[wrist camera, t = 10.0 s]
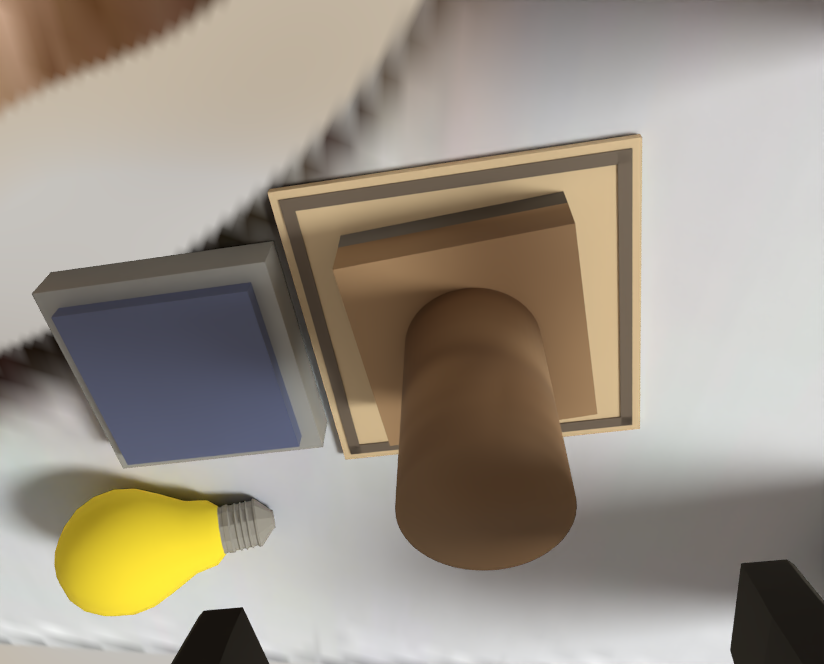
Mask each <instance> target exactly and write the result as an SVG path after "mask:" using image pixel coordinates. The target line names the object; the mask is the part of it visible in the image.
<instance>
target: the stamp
mask: <svg viewBox="0 0 824 664" xmlns="http://www.w3.org/2000/svg"><path fill="white" fill-rule="evenodd" d="M333 273H334V276H335V279H336V282H337V285H338V289H339V292H340V295H341V298H342V301H343V304H344V307H345V310H346V313H347V316H348V319H349V322H350V325H351V328H352V331H353V334H354V337H355V340H356V343H357V347H358V350H359V353H360V356H361V359H362V362H363V365H364V368H365V371H366V374H367V377H368V380H369V383H370V386H371V389H372V392H373V395H374V398H375V401H376V404H377V408H378V411H379V414H380V417H381V420H382V423H383V426H384V429H385V432H386V435H387V438H388V441H389V444H390V446H394V445H399V453H398V470H397V487H396V503H395V512H396V519H397V523H398V525H399V528H400V530H401V532H402V533H403V535H404V536H405V538H406V539H407V540H408V541H409V543H410V544H411V545H412V546H413V547H415V548H416V549H417V550H418V551H420V552H421V553H423V554H424V555H426V556H427V557H429V558H431V559H433V560H435V561H438V562H440V563H443V564H445V565H449V566H453V567H457V568H462V569H469V570H498V569H505V568H511V567H515V566H518V565H522V564H525V563H527V562H530V561H532V560H535V559H537V558H539V557H541V556H542V555H544V554H546V553H547V552H549V551H550V550H552V549H553V548H554V547H555V546H557V545H558V544H559V543H560V542H561V541H562V540H563V539H564V537H565V536H566V535H567V533H568V532H569V530H570V528H571V526H572V525H573V522H574V519H575V516H576V509H577V504H576V496H575V491H574V486H573V482H572V477H571V472H570V468H569V463H568V458H567V454H566V449H565V444H564V440H563V435H562V431H561V426H560V421H559V420H563V419H569V418H576V417H582V416H589V415H595V414H597V406H596V398H595V389H594V380H593V372H592V363H591V355H590V346H589V337H588V329H587V320H586V311H585V303H584V294H583V286H582V277H581V268H580V260H579V251H578V243H577V234H576V225H575V221H574V219H573V216H572V213H571V210H570V208H569V205H568V202H567V200H566V197H565V194H564V191H562V192H557V193H552V194H547V195H542V196H537V197H532V198H527V199H522V200H517V201H512V202H507V203H502V204H497V205H492V206H487V207H482V208H477V209H472V210H467V211H462V212H456V213H451V214H446V215H441V216H436V217H431V218H426V219H421V220H416V221H411V222H406V223H401V224H396V225H391V226H386V227H381V228H376V229H371V230H366V231H361V232H356V233H351V234H346V235H341V236H340V240H339V244H338V249H337V253H336V257H335V261H334V265H333Z"/></svg>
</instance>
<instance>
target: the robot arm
mask: <svg viewBox="0 0 824 664" xmlns="http://www.w3.org/2000/svg"><path fill="white" fill-rule="evenodd" d="M730 651H731V654H732V658H733V661H734V664H824V600H823V599H822V598H821V597H820V596H819V594H818V593H817V592H816V591H815V590H814V588H813V587H812V586H811V585H810V583H809V582H808V581H807V580H806V579H805V577H804V576H803V575H802V574H801V572H800V571H799V570H798V569H797V567H796V566H795V565H794V564H793V563H791V562H790V561H788V560H776V561H765V562H753V563H742V564H741V569H740V577H739V585H738V593H737V601H736V609H735V617H734V625H733V633H732V641H731V649H730ZM171 664H269V662H268V660H267V658H266V656H265V654H264V652H263V650H262V647H261V645H260V643H259V641H258V639H257V637H256V635H255V632H254V630H253V628H252V626H251V624H250V622H249V620H248V618H247V615H246V613H245V611H244V609H243V607H241V608H230V609H218V610H207V611H203V612H202V614H201V615H200V616H199V617H198V619H197V621H196V622H195V624H194V626H193V627H192V629H191V631H190V633H189V634H188V636H187V638H186V639H185V641H184V643H183V644H182V646H181V648H180V650H179V651H178V653H177V655H176V656H175V658H174V660H173V662H172V663H171Z"/></svg>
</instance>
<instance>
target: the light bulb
mask: <svg viewBox="0 0 824 664" xmlns="http://www.w3.org/2000/svg"><path fill="white" fill-rule="evenodd" d="M274 528H275V521H274V515H273V510H270V509H268V508H267V507H265V506H264V505H263V504H261V503H260V502H258V501H257V500H255V499H252V500H251V501H248V502H246V501H244V502H243V503H241V502H239V503H238V504H235V503H233V505H229V506H228V505H227V504H226V505H224V506H222V507H218V506H216V505H214V504H213V503H211V502H209V501H207V500H198V501H182V500H179V499H175V498H172V497H168V496H164V495H161V494H157V493H153V492H148V491H144V490H139V489H116V490H111V491H109V492H106V493H103V494H100V495H98V496H95V497H93V498H92V499H90V500H89V501H88V502H86V503H85V504H84V505H82V506H81V507H80V508H78V509H77V510H76V511H75V513H74V514H73V515H72V517H71V518H70V520H69V521H68V522H67V524H66V525H65V526H64V528H63V531H62V533H61V535H60V538H59V541H58V544H57V548H56V551H55V564H54V565H55V570H56V576H57V579H58V581H59V583H60V585H61V587H62V588H63V590H64V592H65V593H66V595H67V597H68V598H69V600H70V601H71V602H73V603H74V604H75V605H77V606H78V607H80V608H81V609H82V610H84V611H86V612H90V613H94V614H98V615H102V616H122V615H134V614H137V613H140V612H142V611H145V610H147V609H150V608H152V607H155V606H156V605H158V604H159V603H160V602H162V601H163V600H164V599H166V598H167V597H168V596H170V595H171V594H172V593H174V592H175V591H176V590H177V589H179V588H180V587H181V586H182V585H184V584H185V583H186V582H187V581H188V580H190V579H191V578H192V577H193V576H194V575H196V574H197V573H199V572H202V571H204V570H206V569H209V568H211V567H214V566H216V565H218V564H219V563H220V562H221V560H222V559H223V558H224V556H225V555H226V553H228V552H230V553H233V552H236V550H243V549H244V548H246V549H247V550H248V548H249V547H252V548H254V546H257V545H259V546H260V547H261V546H263V544H264V543H265V541H266V540H267V538H268V537H269V535H270V533H271V532H272V530H273V529H274Z"/></svg>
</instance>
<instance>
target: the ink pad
mask: <svg viewBox="0 0 824 664" xmlns="http://www.w3.org/2000/svg"><path fill="white" fill-rule="evenodd" d="M32 295H33V297H34V299H35V301H36V303H37V305H38V307H39V309H40V311H41V313H42V314H43V316H44V318H45V320H46V322H47V324H48V326H49V328H50V330H51V332H52V334H53V335H54V337H55V339H56V341H57V343H58V345H59V347H60V349H61V351H62V353H63V355H64V356H65V358H66V360H67V362H68V364H69V366H70V368H71V370H72V372H73V374H74V376H75V377H76V379H77V381H78V383H79V385H80V387H81V389H82V391H83V393H84V395H85V396H86V398H87V400H88V402H89V404H90V406H91V408H92V410H93V412H94V414H95V416H96V417H97V419H98V421H99V423H100V425H101V427H102V429H103V431H104V433H105V435H106V437H107V438H108V440H109V442H110V444H111V446H112V448H113V450H114V452H115V454H116V456H117V458H118V459H119V461H120V463H121V465H122V467H123V468H132V467H141V466H151V465H160V464H169V463H179V462H188V461H197V460H207V459H216V458H225V457H235V456H244V455H254V454H263V453H272V452H282V451H291V450H300V449H310V448H319V447H323V443H324V438H325V432H326V427H327V419H326V415H325V412H324V409H323V405H322V402H321V399H320V395H319V392H318V389H317V385H316V382H315V378H314V375H313V372H312V368H311V365H310V362H309V358H308V355H307V352H306V348H305V345H304V342H303V338H302V335H301V332H300V328H299V325H298V322H297V318H296V315H295V312H294V308H293V305H292V302H291V298H290V295H289V292H288V288H287V285H286V282H285V278H284V275H283V272H282V268H281V265H280V262H279V258H278V255H277V252H276V248H275V245H274V242H273V241H271V242H264V243H257V244H250V245H242V246H235V247H228V248H221V249H214V250H207V251H200V252H193V253H186V254H178V255H171V256H164V257H157V258H150V259H143V260H136V261H129V262H122V263H115V264H108V265H101V266H93V267H86V268H79V269H72V270H65V271H58V272H51V273H50V274H49V275H48V276H47V277H46V279H45V280H44V281H43V282H42V283H41V284H40V285H39V286H38V288H37V289H36V290H35V291H34V292H33V293H32Z"/></svg>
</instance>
